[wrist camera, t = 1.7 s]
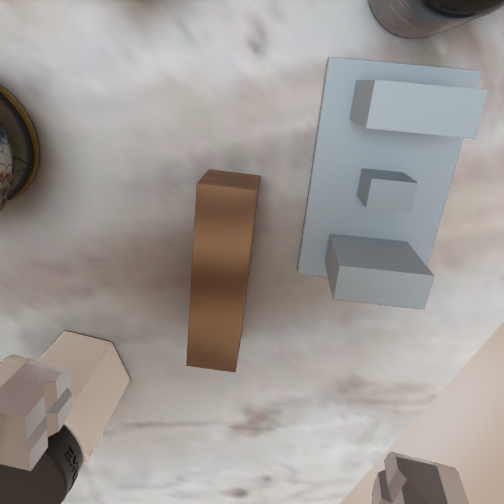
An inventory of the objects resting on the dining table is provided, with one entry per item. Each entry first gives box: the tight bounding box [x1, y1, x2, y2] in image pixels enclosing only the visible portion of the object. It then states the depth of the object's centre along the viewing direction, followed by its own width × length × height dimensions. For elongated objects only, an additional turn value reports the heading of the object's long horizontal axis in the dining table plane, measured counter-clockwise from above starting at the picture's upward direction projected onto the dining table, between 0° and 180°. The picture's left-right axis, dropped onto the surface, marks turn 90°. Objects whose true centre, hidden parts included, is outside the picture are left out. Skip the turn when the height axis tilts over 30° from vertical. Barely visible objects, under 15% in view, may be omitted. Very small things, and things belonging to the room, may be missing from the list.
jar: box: [0, 331, 130, 504], centre depth 34 cm, size 9×8×12 cm
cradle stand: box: [297, 57, 489, 310], centre depth 27 cm, size 16×10×7 cm, turn 175°
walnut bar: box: [186, 170, 260, 372], centre depth 32 cm, size 15×4×5 cm, turn 174°
